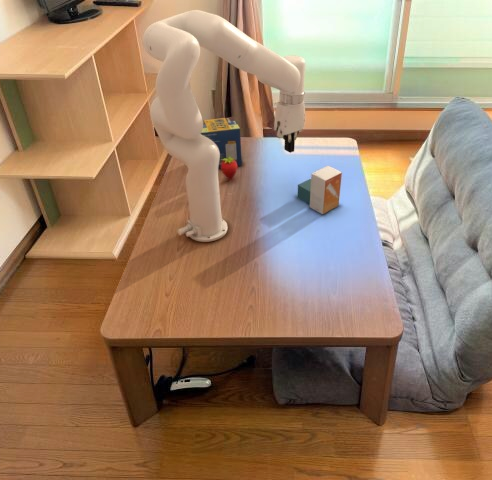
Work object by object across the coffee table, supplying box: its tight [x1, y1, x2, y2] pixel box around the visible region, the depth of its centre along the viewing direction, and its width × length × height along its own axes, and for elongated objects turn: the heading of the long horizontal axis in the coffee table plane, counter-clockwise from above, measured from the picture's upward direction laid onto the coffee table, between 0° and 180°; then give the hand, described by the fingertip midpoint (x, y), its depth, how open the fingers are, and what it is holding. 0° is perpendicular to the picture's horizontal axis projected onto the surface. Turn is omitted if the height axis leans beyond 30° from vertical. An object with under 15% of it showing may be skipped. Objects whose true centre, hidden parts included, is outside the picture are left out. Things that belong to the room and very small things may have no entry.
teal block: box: [297, 178, 311, 205], centre depth 167 cm, size 6×6×5 cm
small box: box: [309, 165, 343, 215], centre depth 160 cm, size 8×6×13 cm
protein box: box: [201, 116, 243, 170], centre depth 183 cm, size 10×15×16 cm
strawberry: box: [221, 156, 238, 181], centre depth 174 cm, size 6×8×10 cm
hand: (289, 150), depth 165 cm, fingers closed
